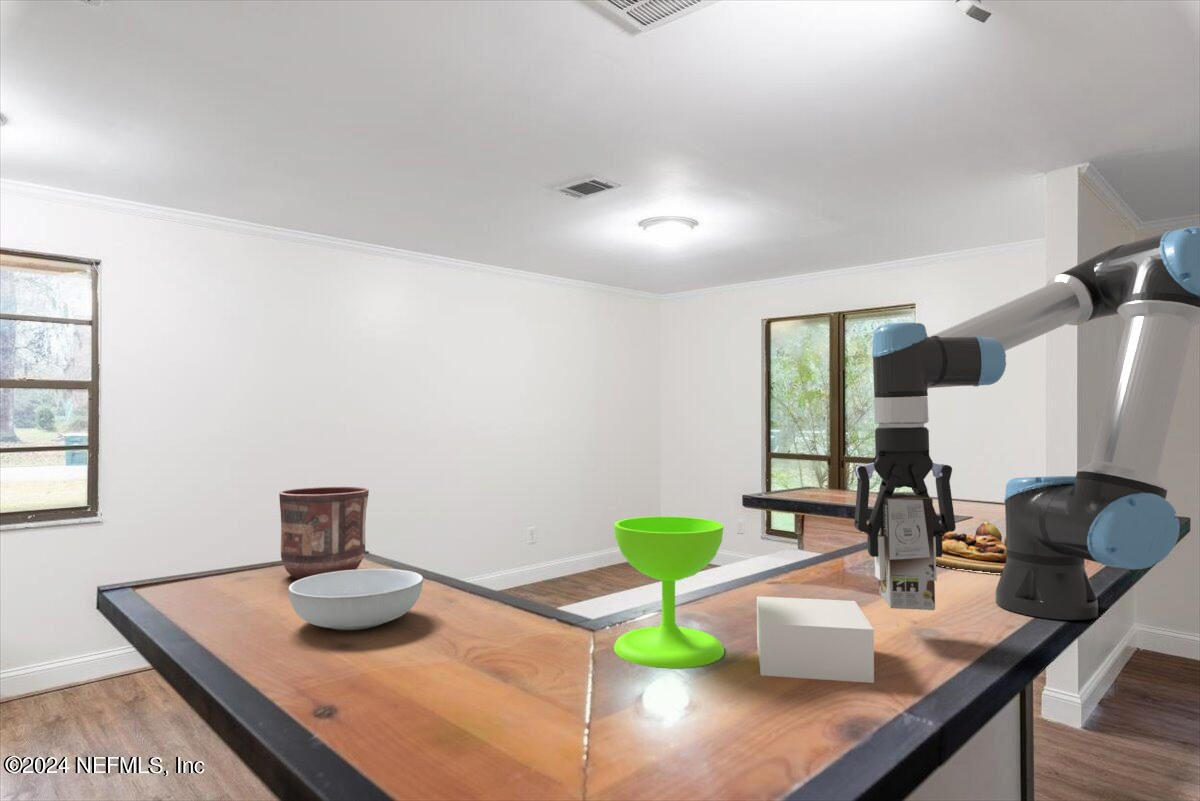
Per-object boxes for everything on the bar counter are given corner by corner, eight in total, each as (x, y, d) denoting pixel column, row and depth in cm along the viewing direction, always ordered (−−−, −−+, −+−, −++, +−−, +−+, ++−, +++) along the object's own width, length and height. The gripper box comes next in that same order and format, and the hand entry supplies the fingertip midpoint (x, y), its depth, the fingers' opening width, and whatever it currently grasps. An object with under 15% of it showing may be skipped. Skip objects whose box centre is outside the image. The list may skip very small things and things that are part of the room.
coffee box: (937, 611, 101) (934, 498, 101) (889, 609, 102) (886, 498, 102) (921, 594, 110) (918, 491, 110) (877, 593, 111) (875, 491, 111)
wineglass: (650, 676, 91) (650, 537, 91) (594, 641, 105) (594, 520, 106) (747, 656, 98) (747, 527, 99) (683, 626, 113) (683, 513, 113)
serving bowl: (448, 613, 120) (448, 573, 120) (359, 650, 101) (359, 602, 101) (356, 600, 129) (356, 562, 129) (257, 632, 110) (258, 588, 110)
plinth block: (855, 649, 102) (854, 601, 103) (874, 685, 89) (873, 629, 89) (757, 643, 105) (757, 596, 105) (760, 677, 91) (760, 623, 91)
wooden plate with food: (890, 563, 162) (891, 528, 162) (929, 543, 186) (929, 512, 186) (1054, 588, 141) (1055, 547, 141) (1074, 561, 166) (1074, 526, 166)
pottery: (349, 584, 140) (350, 494, 141) (262, 584, 141) (264, 494, 141) (378, 566, 158) (379, 486, 159) (301, 566, 158) (302, 486, 159)
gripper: (959, 424, 109) (964, 573, 108) (829, 426, 111) (833, 572, 111) (979, 425, 101) (984, 585, 101) (839, 427, 104) (844, 583, 103)
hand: (905, 578), depth 106 cm, fingers closed on coffee box, 7 cm apart
